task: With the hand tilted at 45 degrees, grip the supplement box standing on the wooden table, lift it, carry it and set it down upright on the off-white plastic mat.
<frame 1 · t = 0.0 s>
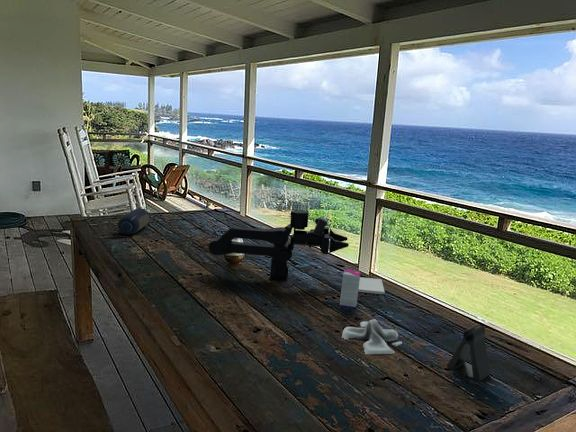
hand: (348, 241, 178), 17 cm above the table, tool horizontal, fingers open, 9 cm apart
mat: (364, 286, 180), on the table
supplement box: (348, 305, 161), on the table
phone stand: (468, 371, 122), on the table
portable speaker: (134, 230, 238), on the table
cloth: (376, 339, 138), on the table
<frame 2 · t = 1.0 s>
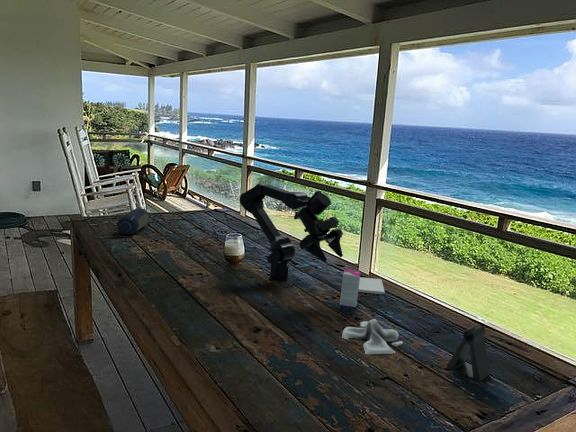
hand: (334, 259, 163), 14 cm above the table, tool tilted 45°, fingers open, 9 cm apart
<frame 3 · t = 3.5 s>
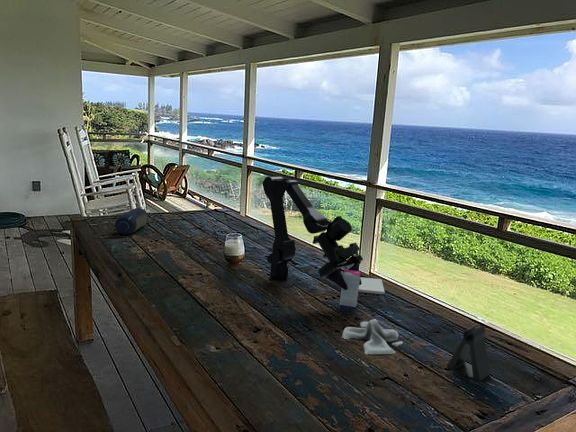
hand: (353, 287, 158), 7 cm above the table, tool tilted 45°, fingers closed on supplement box, 7 cm apart
supplement box: (348, 304, 161), on the table, touching gripper
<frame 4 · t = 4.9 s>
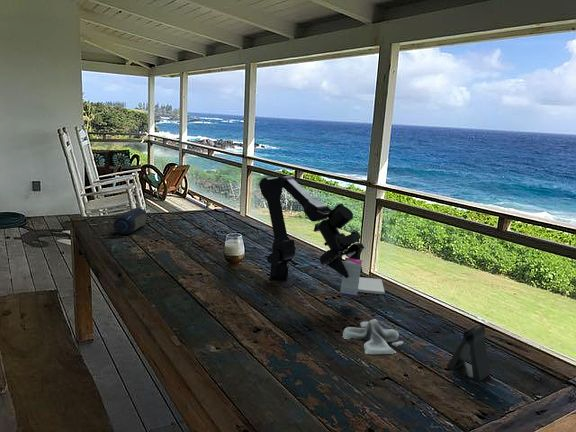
hand: (354, 275, 158), 11 cm above the table, tool tilted 45°, fingers closed on supplement box, 7 cm apart
supplement box: (349, 293, 160), point 4 cm above the table, touching gripper
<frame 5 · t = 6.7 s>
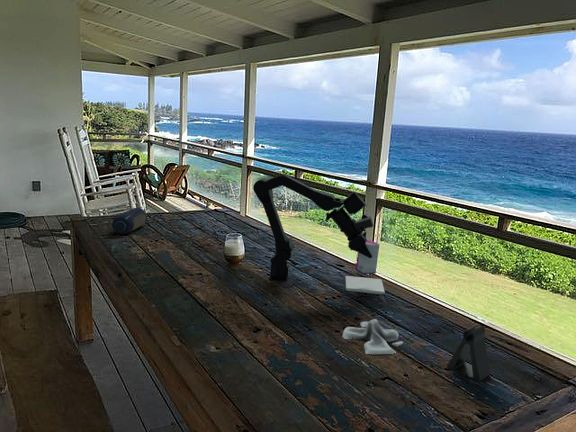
hand: (371, 254, 175), 13 cm above the table, tool tilted 45°, fingers closed on supplement box, 7 cm apart
supplement box: (365, 272, 176), point 6 cm above the table, touching gripper
when the fingers open (9 cm above the table, at t = 9.0 s): supplement box stays where it is, resting on mat.
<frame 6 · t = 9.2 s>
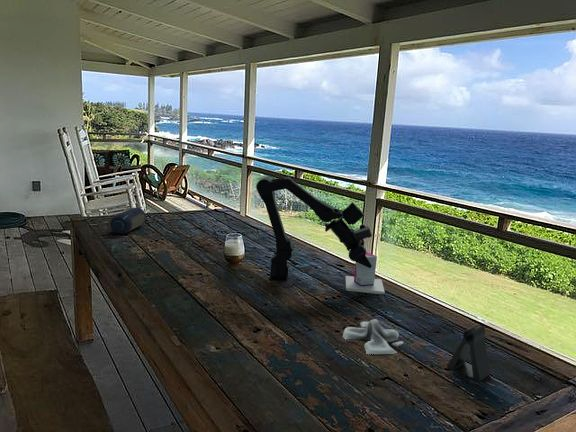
hand: (370, 263, 178), 9 cm above the table, tool tilted 45°, fingers open, 9 cm apart
supplement box: (363, 283, 180), point 1 cm above the table, touching mat
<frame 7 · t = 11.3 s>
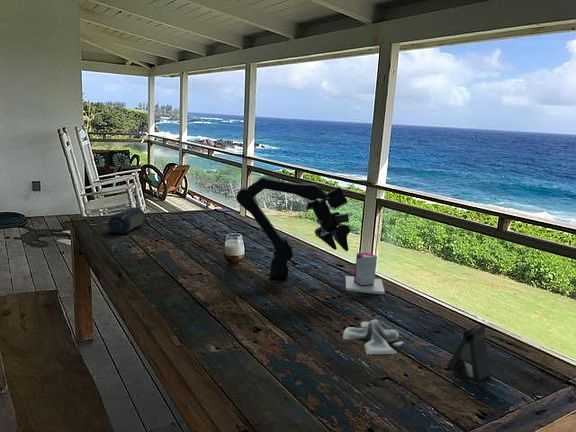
hand: (341, 250, 180), 13 cm above the table, tool tilted 30°, fingers open, 9 cm apart
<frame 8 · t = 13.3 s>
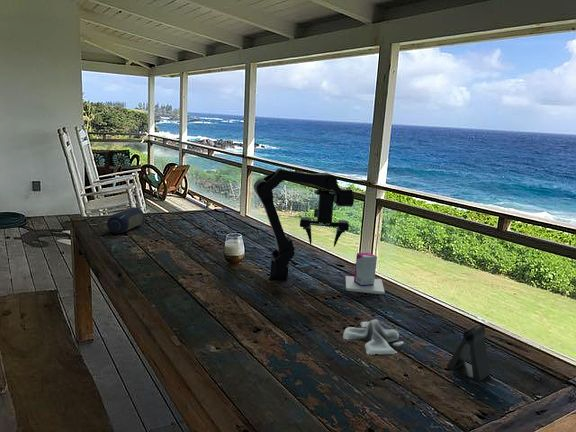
hand: (322, 245, 184), 13 cm above the table, tool pointing down, fingers open, 9 cm apart
at the end: supplement box inside the target area on the mat (0.2 cm from its centre), point 0.8 cm above the mat's base; supplement box tilted 0°; the gripper is holding nothing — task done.
